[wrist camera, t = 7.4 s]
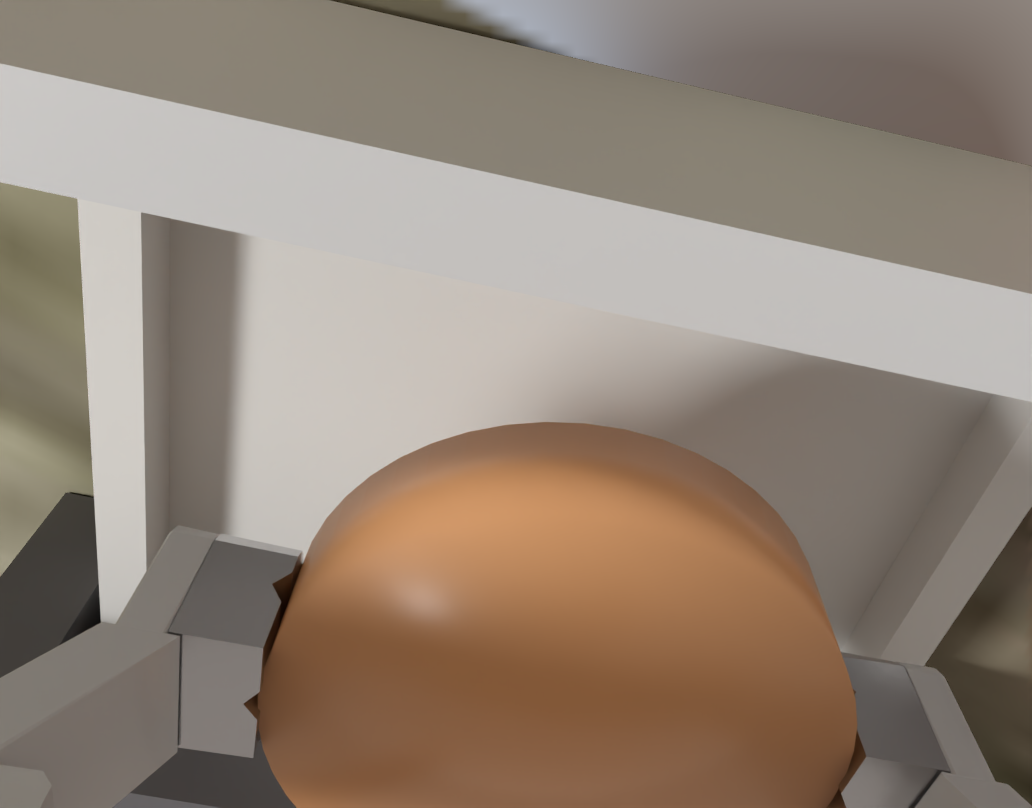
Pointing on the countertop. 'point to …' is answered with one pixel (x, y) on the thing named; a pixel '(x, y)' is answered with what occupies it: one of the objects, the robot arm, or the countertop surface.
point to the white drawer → (519, 285)
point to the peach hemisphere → (556, 637)
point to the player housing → (76, 608)
